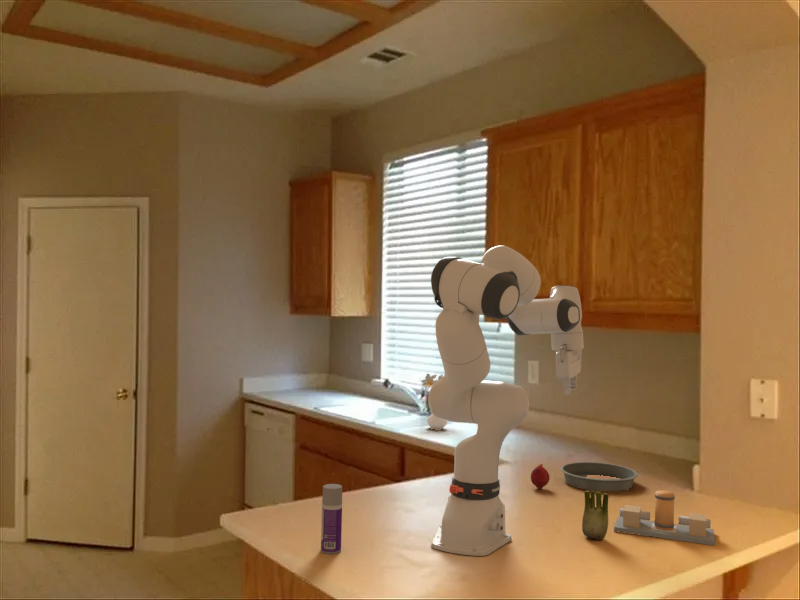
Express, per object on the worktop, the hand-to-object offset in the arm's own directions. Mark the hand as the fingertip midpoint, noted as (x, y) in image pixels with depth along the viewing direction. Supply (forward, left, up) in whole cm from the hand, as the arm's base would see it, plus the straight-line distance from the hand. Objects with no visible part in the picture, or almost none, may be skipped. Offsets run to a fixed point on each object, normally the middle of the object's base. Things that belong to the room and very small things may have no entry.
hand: (570, 392), depth 204 cm
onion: (+23, +12, -34) cm, 43 cm away
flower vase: (+108, +75, -34) cm, 136 cm away
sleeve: (-6, -26, -33) cm, 42 cm away
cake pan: (+40, -4, -34) cm, 53 cm away
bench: (-6, -26, -34) cm, 43 cm away
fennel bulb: (-19, -10, -34) cm, 40 cm away
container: (-56, +45, -34) cm, 80 cm away
